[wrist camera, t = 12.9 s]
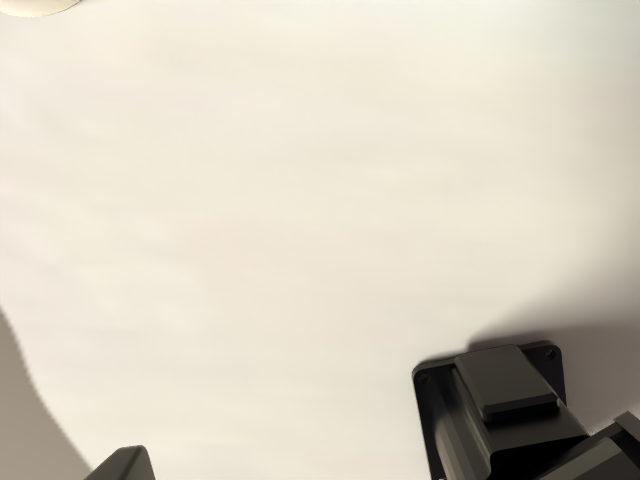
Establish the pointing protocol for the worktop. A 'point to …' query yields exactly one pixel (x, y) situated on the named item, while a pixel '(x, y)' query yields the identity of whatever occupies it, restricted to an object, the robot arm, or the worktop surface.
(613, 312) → the worktop surface
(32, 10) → the cylindrical container
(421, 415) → the robot arm
